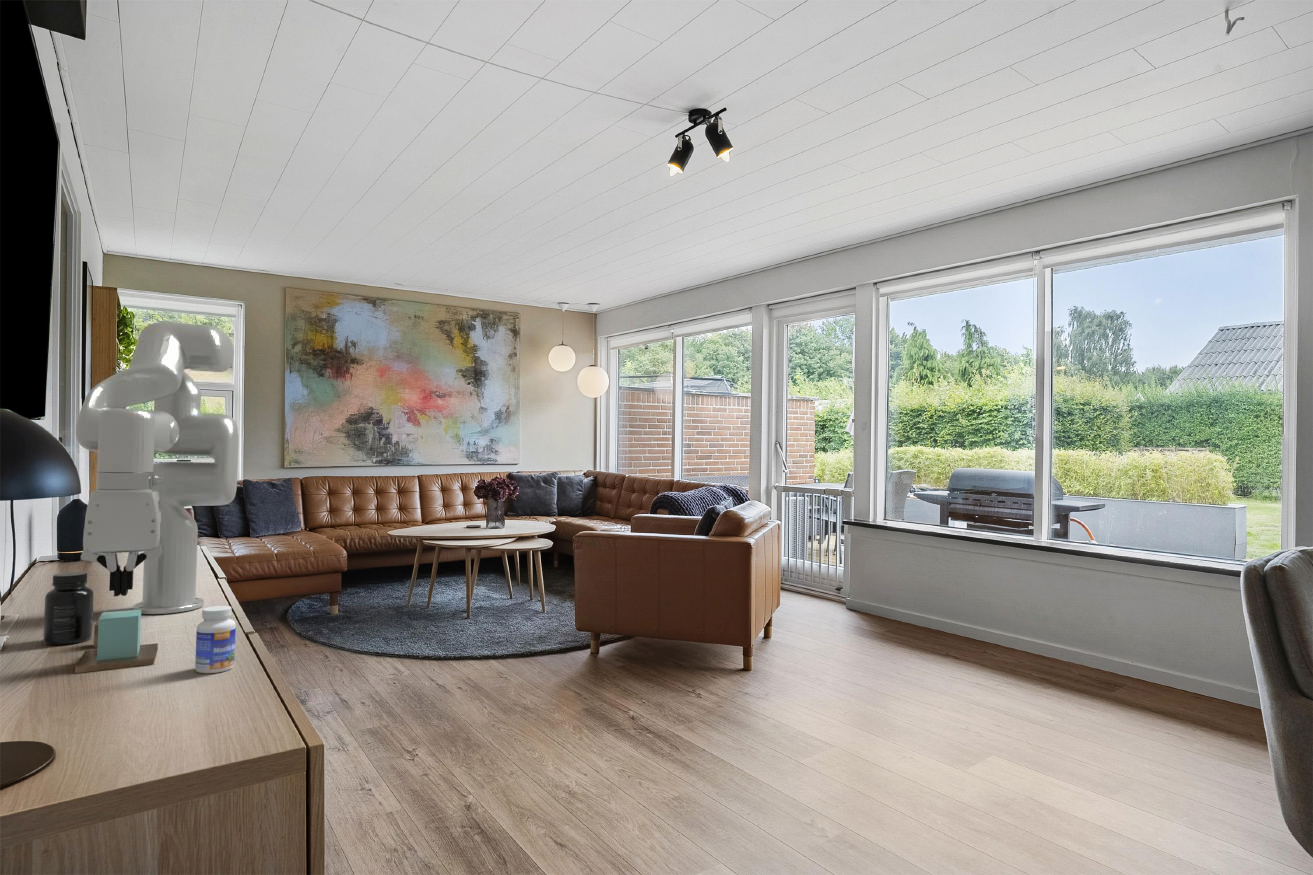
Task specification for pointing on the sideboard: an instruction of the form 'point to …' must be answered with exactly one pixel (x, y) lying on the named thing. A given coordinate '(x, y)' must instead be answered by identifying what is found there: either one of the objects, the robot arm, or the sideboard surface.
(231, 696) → the sideboard surface
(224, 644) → the pill bottle
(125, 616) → the teal rectangular block
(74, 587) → the supplement bottle
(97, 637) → the tan cardboard cube
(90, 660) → the brown square base
